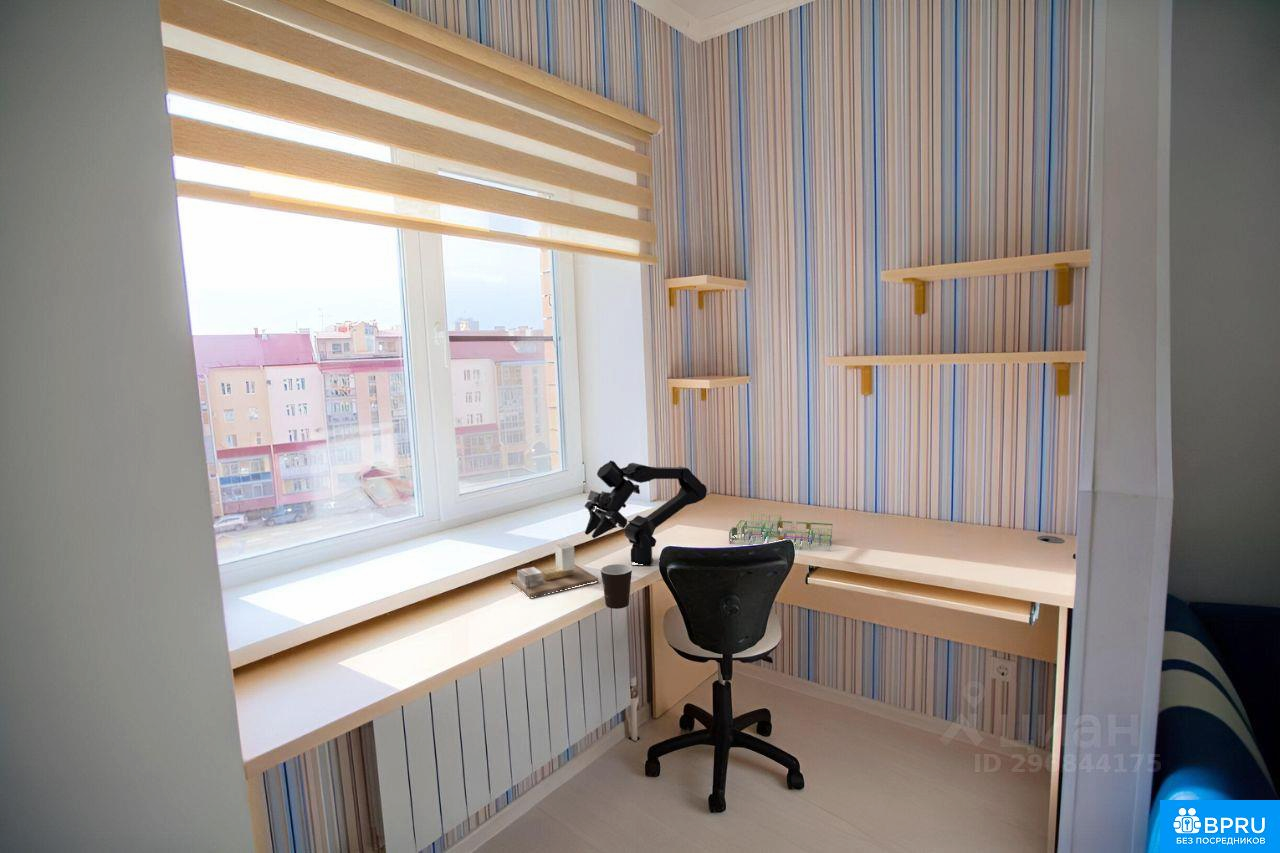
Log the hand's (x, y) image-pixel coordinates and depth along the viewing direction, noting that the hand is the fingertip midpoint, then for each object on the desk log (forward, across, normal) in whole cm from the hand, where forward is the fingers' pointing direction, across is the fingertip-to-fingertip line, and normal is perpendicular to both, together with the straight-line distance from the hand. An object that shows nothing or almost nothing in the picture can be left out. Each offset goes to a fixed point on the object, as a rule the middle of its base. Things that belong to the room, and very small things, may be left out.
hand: (589, 535), depth 199 cm
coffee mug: (+12, +25, +6) cm, 28 cm away
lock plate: (+18, 0, -1) cm, 19 cm away
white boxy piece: (+15, 0, 0) cm, 15 cm away
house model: (-46, +5, +65) cm, 79 cm away
